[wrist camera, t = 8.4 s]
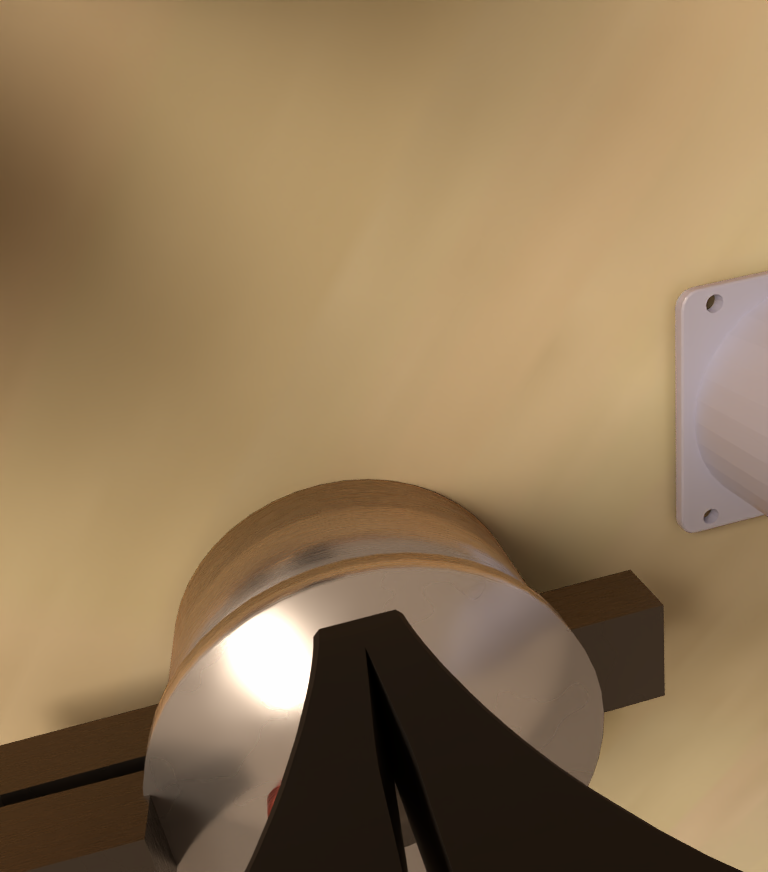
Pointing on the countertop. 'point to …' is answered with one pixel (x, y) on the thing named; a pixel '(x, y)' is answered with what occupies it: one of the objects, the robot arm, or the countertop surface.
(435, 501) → the pot
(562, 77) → the countertop surface
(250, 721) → the lid
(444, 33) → the countertop surface
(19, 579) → the countertop surface
